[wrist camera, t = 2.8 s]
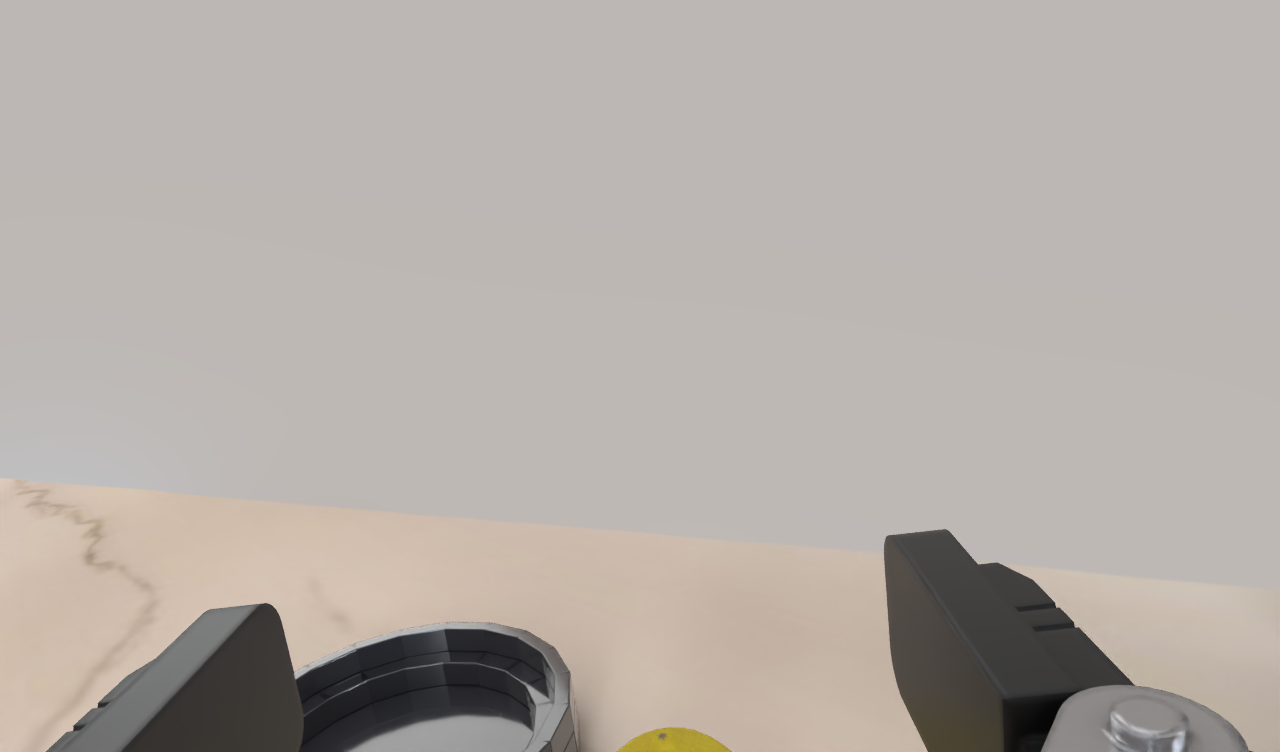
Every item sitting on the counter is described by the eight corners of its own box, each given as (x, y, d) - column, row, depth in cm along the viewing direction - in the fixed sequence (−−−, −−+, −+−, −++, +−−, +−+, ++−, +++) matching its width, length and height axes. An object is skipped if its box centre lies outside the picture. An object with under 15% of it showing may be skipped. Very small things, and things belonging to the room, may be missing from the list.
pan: (579, 655, 43) (571, 602, 43) (581, 889, 29) (568, 815, 28) (289, 700, 43) (276, 648, 42) (140, 963, 28) (116, 889, 28)
